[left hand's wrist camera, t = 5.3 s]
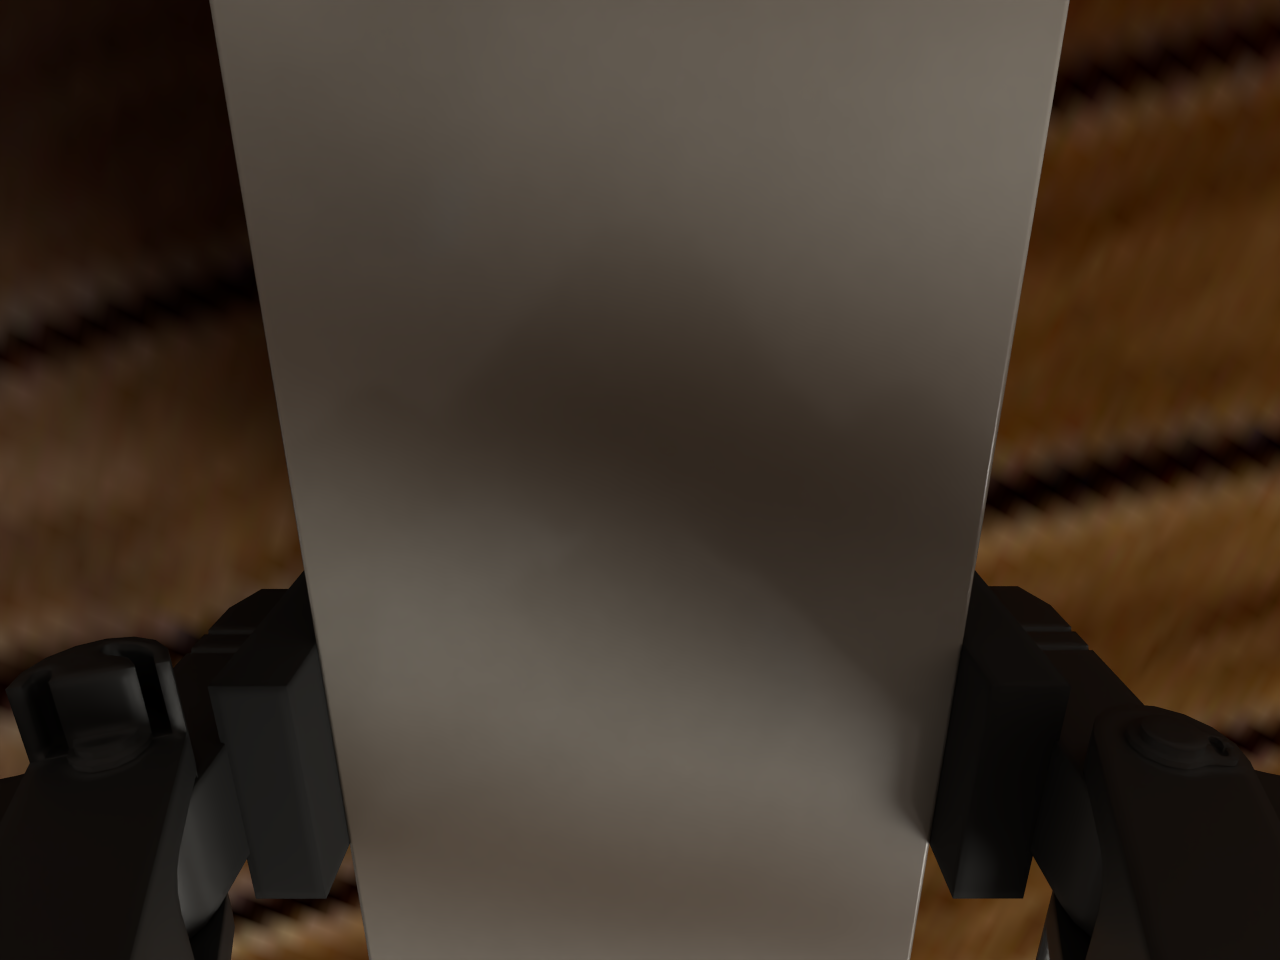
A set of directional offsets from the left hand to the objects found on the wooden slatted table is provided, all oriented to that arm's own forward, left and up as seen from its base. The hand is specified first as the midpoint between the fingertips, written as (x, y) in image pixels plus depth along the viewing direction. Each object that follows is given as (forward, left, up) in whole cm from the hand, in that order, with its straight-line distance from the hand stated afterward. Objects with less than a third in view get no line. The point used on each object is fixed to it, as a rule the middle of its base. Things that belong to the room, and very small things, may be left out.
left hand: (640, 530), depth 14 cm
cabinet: (+1, +4, -5) cm, 6 cm away
